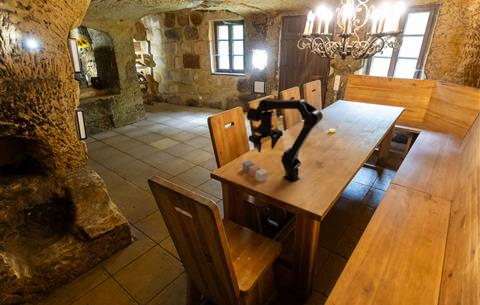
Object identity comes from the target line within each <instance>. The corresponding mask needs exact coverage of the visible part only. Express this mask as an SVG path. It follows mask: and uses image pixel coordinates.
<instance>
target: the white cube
mask: <svg viewBox="0 0 480 305" xmlns="http://www.w3.org/2000/svg"><path fill="white" fill-rule="evenodd" d="M254 178H255V180H256V181H258V182H259V183H262V182H264V181H265V182H266V180H268V171H266V170H265V169H263V168H260V170H257V171H255V177H254Z"/></svg>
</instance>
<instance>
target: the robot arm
mask: <svg viewBox="0 0 480 305" xmlns="http://www.w3.org/2000/svg"><path fill="white" fill-rule="evenodd" d="M274 110H297V111H298V112H299V114H300V116H301V117H302V119H303V125H302V128H301V130H300V131H299V134H298V135H297V137H296V139H295V141H294V142H293V143H292V146H291V147H288V148H287V149H286V150H284V152H283V154H282V155H281V157H280V158H281V160H280V161H281V164H282V165H283V166H282V167H283V169H284V176H282V178H283V179H285V180H286V181H288V182H289V183H293V182H297V181H298V180H301V177H299V170H300V169H299V167H300V166H301V164H302V162H301V161H300V159H299V158H298V157H299V154H300V153H299V152H300V150H301V148H302V147H303V145H304V144H305V142H306V140H307V138H308V137H309V135H310V133H311V132H312V130H313V129H315V128H316V127H317V125H318V124H319V123H320V122H321V121H322V120H323V117H324V116H323V113H322V112H321V111H320V110H319V109H317V108H316V107H315V106H313V105H312V104H310V103H309V102H308V101H306V100H305V99H303V98H301V99H276V98H274V97H267V98H264V99H260V100H259V102H258V105H257V107H249V108H248V111H247V114H246V119H247V120H248V121H250V122H251V121H252V122H256V123H258V122H259V123H260V124H258V126H256V125H253V126H251V127H250V128H251V132H252V133H254V134H250V135H249V136H248V141H249V142H250V143H252V144H254V146H255V147H256V149H257V152H258V153H259V154H260V153H261V151H262V143H263V142H261V141H262V140H263V139H266V138H270V143H271V145H270V148H271V149H272V150H274V148H275V147H276V145H277V143H278V141H279V140H280V139H281V137H284V136H283V135H284V134H283V132H284V131H282V130H280V129H279V128H274V125H273V124H272V122H273V117H274V116H276V112H275V111H274ZM272 128H274V129H272ZM257 134H258V135H257Z"/></svg>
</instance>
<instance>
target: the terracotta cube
mask: <svg viewBox="0 0 480 305" xmlns="http://www.w3.org/2000/svg"><path fill="white" fill-rule="evenodd" d="M260 169H261V167H260V166H259V165H257V164H255V163H254V165H252V166H249V172H248V175H250V176H251V177H252V178H255V171H257V170H260Z"/></svg>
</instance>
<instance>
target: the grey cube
mask: <svg viewBox="0 0 480 305" xmlns="http://www.w3.org/2000/svg"><path fill="white" fill-rule="evenodd" d="M252 165H255V163H254V162H252V161H251V160H246V161H243V162H242V171H243V172H244V173H248V174H249V166H252Z"/></svg>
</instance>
